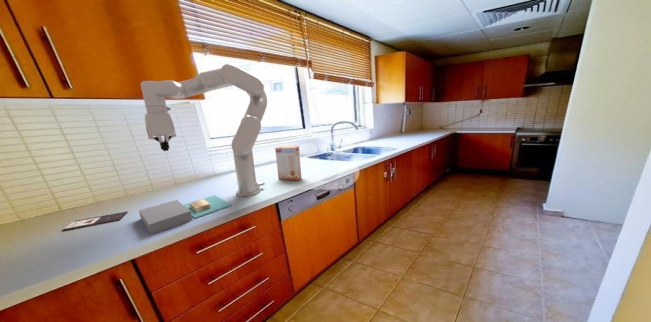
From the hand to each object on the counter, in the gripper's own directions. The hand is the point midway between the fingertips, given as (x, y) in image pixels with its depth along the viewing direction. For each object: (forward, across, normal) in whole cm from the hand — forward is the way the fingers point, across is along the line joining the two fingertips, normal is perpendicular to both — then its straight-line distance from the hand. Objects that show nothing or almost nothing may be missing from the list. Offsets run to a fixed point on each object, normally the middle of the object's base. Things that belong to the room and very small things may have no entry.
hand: (165, 150), depth 104 cm
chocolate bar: (+28, +28, -9) cm, 40 cm away
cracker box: (+27, -59, +15) cm, 67 cm away
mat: (+27, -8, +15) cm, 32 cm away
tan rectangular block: (+24, -5, +16) cm, 30 cm away
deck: (+27, +8, +15) cm, 32 cm away
